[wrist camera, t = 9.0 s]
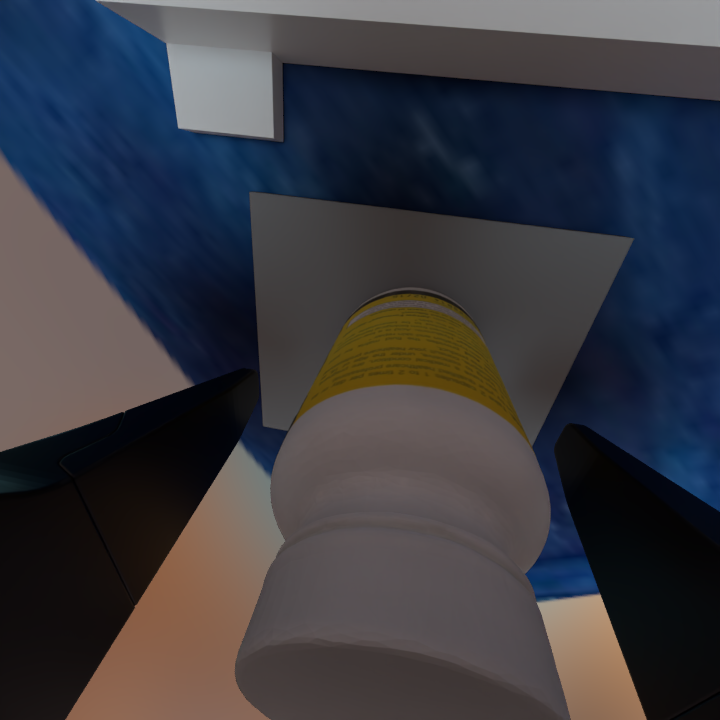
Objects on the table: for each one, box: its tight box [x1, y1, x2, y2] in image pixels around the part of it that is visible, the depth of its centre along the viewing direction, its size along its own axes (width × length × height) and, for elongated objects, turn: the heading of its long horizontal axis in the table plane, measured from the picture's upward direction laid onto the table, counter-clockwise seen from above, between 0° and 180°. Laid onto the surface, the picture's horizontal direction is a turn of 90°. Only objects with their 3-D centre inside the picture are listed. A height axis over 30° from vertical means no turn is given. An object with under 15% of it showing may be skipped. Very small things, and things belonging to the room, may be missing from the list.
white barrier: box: [96, 0, 720, 142], centre depth 7 cm, size 20×5×3 cm, turn 85°
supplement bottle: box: [235, 287, 571, 720], centre depth 8 cm, size 5×5×10 cm
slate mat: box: [249, 192, 634, 447], centre depth 13 cm, size 12×10×1 cm
